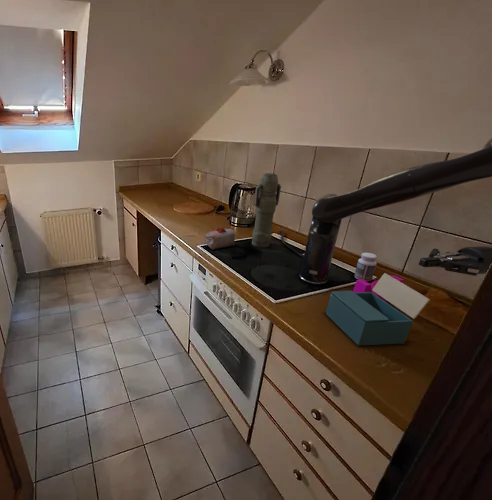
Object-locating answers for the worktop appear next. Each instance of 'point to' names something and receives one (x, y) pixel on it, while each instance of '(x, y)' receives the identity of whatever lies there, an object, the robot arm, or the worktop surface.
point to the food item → (220, 238)
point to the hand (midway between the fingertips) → (422, 262)
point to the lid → (401, 295)
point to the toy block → (370, 286)
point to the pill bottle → (366, 267)
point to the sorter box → (368, 318)
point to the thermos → (265, 209)
